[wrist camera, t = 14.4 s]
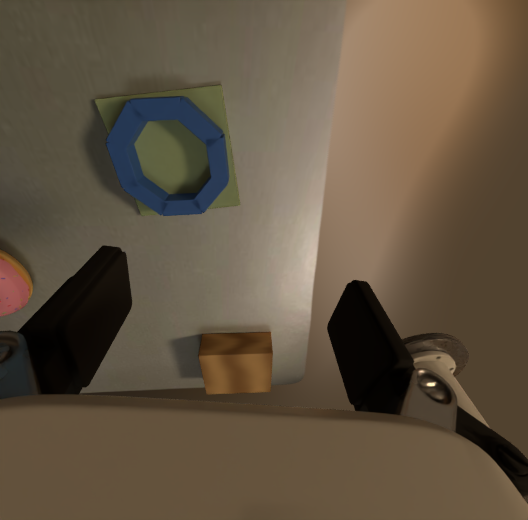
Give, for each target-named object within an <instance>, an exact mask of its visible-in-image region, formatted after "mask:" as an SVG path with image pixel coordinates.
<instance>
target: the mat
mask: <svg viewBox="0 0 528 520" xmlns="http://www.w3.org/2000/svg"><path fill="white" fill-rule="evenodd" d="M168 96H184V97H185V98H186V97H188V98H189V99H190V100H191V101H192V102H193V103H194V104H195V105H196V106H197V107H198V108H199V109H200V110H201V111H203V112H204V113H205V114H206V115H207V116H208V117H209V118H210V119H211V120H212V121H213V122H214V123H215V124H216V125H217V126H218V127H220V128H221V129H222V130H223V133H222V134H225V139H226V148H227V157H228V166H229V175H230V177H229V182H228V185H227V186H226V187H225V189H224V190H223V191H222V192H221V193H220V194H219V196H218V197H217V198H216V199H215V200H214V202H213V203H212V204H211V205H210V206H209V207H208V209H211V208H221V207H230V206H239V205H240V200H239V193H238V187H237V181H236V174H235V168H234V162H233V155H232V149H231V143H230V136H229V130H228V123H227V117H226V111H225V104H224V98H223V92H222V86H221V85H215V86H206V87H198V88H189V89H181V90H172V91H163V92H155V93H146V94H137V95H129V96H120V97H111V98H103V99H95V102H96V105H97V107H98V110H99V112H100V115H101V117H102V120H103V122H104V125H105V127H106V130H107V132H108V134H109V133H110V131H111V130H112V128H113V126H114V124H115V122H116V120H117V118H118V117H119V115H120V113H121V111H122V109H123V107H124V106H125V104H126V102H127V101H129V100H130V99H134V98H146V97H168ZM134 145H135V149H136V152H137V155H138V159H139V162H140V165H141V168H142V172H143V175H144V176H145V177H146V178H148V179H149V180H151V181H152V182H153V183H155V184H156V185H157V186H159V187H160V188H162V189H163V190H164V191H166V192H167V193H168V194H183V193H197V192H198V191H199V189H200V188H201V187H202V186H203V184H204V183H205V182H206V181H207V179H208V178H209V177H210V176H211V174H210V168H209V161H208V155H207V148H206V144H204V143H203V142H202V141H201V140H200V139H199V138H198V137H197V136H195V135H194V134H193V133H192V132H191V131H190V130H189V129H187V128H186V127H185V126H184V125H183V124H182V123H181V122H179V121H178V120H159V121H148V122H147V124H146V126H145V127H144V129H143V131H142V132H141V134H140V136H139V137H138V139H137V141H136V142H135V144H134ZM135 201H136V203H137V206H138V208H139V211H140V213H141V216H147V215H156V214H158V213H157V212H155V211H154V210H152V209H151V208H149V207H148V206H146V205H145V204H143V203H142V202H140V201H139V200H137V199H136V198H135Z"/></svg>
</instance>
